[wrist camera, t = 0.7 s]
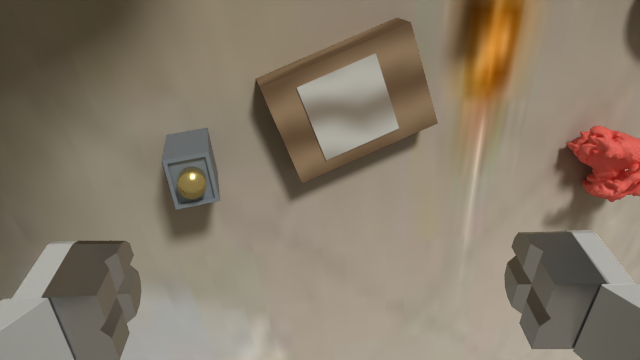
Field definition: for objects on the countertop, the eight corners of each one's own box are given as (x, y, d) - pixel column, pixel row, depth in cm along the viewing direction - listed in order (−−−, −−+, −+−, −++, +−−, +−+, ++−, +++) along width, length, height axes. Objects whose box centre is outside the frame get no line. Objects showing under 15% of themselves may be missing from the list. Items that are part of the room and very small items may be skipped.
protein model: (565, 115, 67) (648, 121, 56) (617, 151, 72) (703, 164, 61) (536, 174, 67) (613, 192, 56) (590, 206, 72) (671, 228, 61)
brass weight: (174, 169, 49) (173, 176, 48) (202, 164, 49) (203, 170, 48) (181, 194, 50) (180, 201, 49) (208, 188, 51) (209, 195, 49)
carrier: (166, 135, 54) (162, 160, 48) (207, 127, 55) (208, 152, 48) (178, 179, 57) (175, 209, 50) (217, 171, 58) (219, 200, 51)
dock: (255, 78, 54) (260, 88, 50) (397, 17, 54) (411, 22, 51) (295, 169, 60) (302, 184, 56) (423, 112, 60) (438, 123, 56)
